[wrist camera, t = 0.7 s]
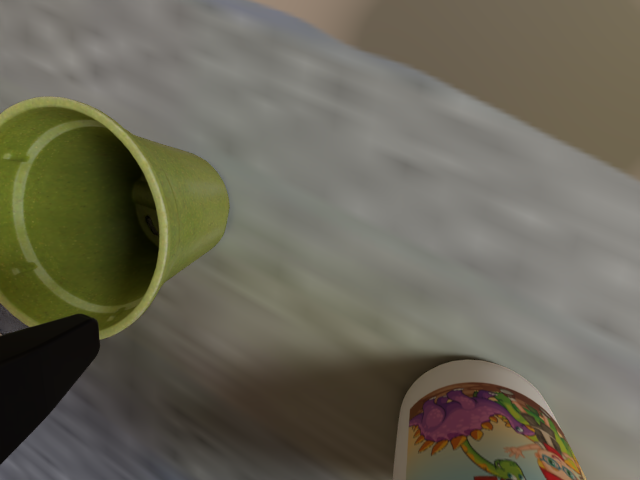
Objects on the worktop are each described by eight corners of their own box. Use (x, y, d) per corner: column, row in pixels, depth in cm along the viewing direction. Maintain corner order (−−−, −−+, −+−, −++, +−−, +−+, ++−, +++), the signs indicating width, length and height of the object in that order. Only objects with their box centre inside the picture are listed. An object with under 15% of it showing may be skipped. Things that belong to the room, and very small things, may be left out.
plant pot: (85, 178, 25) (-79, 186, 17) (198, 85, 23) (68, 41, 14) (167, 308, 26) (46, 378, 17) (289, 232, 23) (213, 272, 15)
